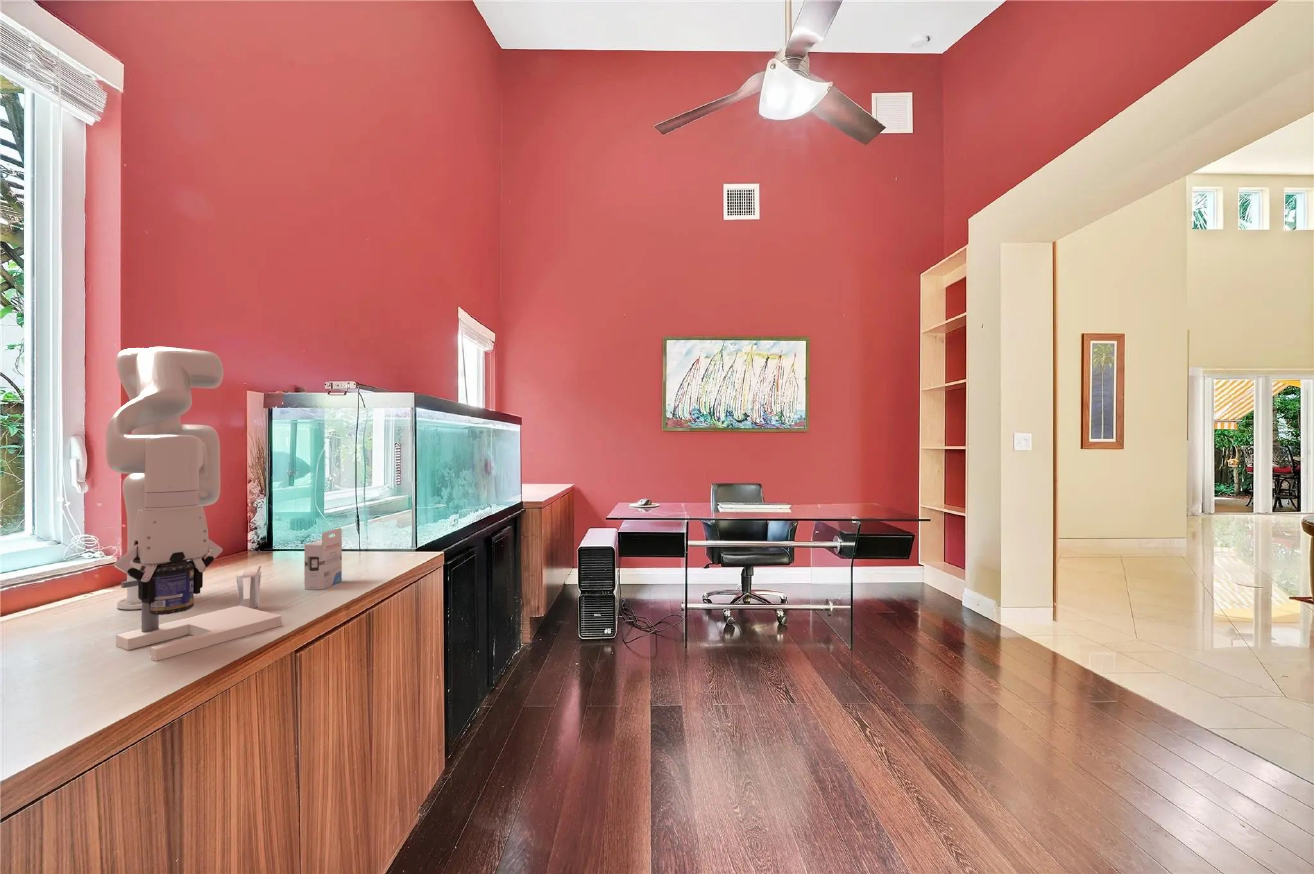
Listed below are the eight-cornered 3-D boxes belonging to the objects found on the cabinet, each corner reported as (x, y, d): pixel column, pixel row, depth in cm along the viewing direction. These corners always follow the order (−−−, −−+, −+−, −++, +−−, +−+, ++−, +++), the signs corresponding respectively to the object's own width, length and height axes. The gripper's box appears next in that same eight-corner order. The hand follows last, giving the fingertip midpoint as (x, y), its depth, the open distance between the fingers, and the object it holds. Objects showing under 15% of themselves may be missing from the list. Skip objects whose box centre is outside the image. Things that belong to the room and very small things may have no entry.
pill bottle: (199, 608, 99) (199, 550, 99) (156, 618, 94) (156, 555, 94) (185, 604, 102) (186, 547, 103) (143, 612, 97) (144, 552, 97)
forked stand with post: (115, 645, 98) (116, 580, 99) (239, 614, 116) (240, 559, 117) (155, 661, 91) (156, 591, 91) (281, 625, 109) (281, 567, 109)
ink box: (324, 581, 145) (324, 527, 145) (342, 581, 145) (342, 527, 145) (303, 590, 136) (303, 532, 136) (322, 590, 136) (322, 532, 136)
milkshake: (250, 613, 117) (250, 568, 117) (230, 612, 118) (231, 567, 118) (269, 607, 122) (269, 563, 122) (250, 605, 123) (250, 562, 123)
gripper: (217, 496, 108) (216, 584, 108) (99, 504, 93) (98, 608, 92) (236, 497, 105) (236, 588, 104) (118, 506, 89) (117, 613, 89)
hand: (171, 596), depth 98 cm, fingers closed on pill bottle, 6 cm apart
